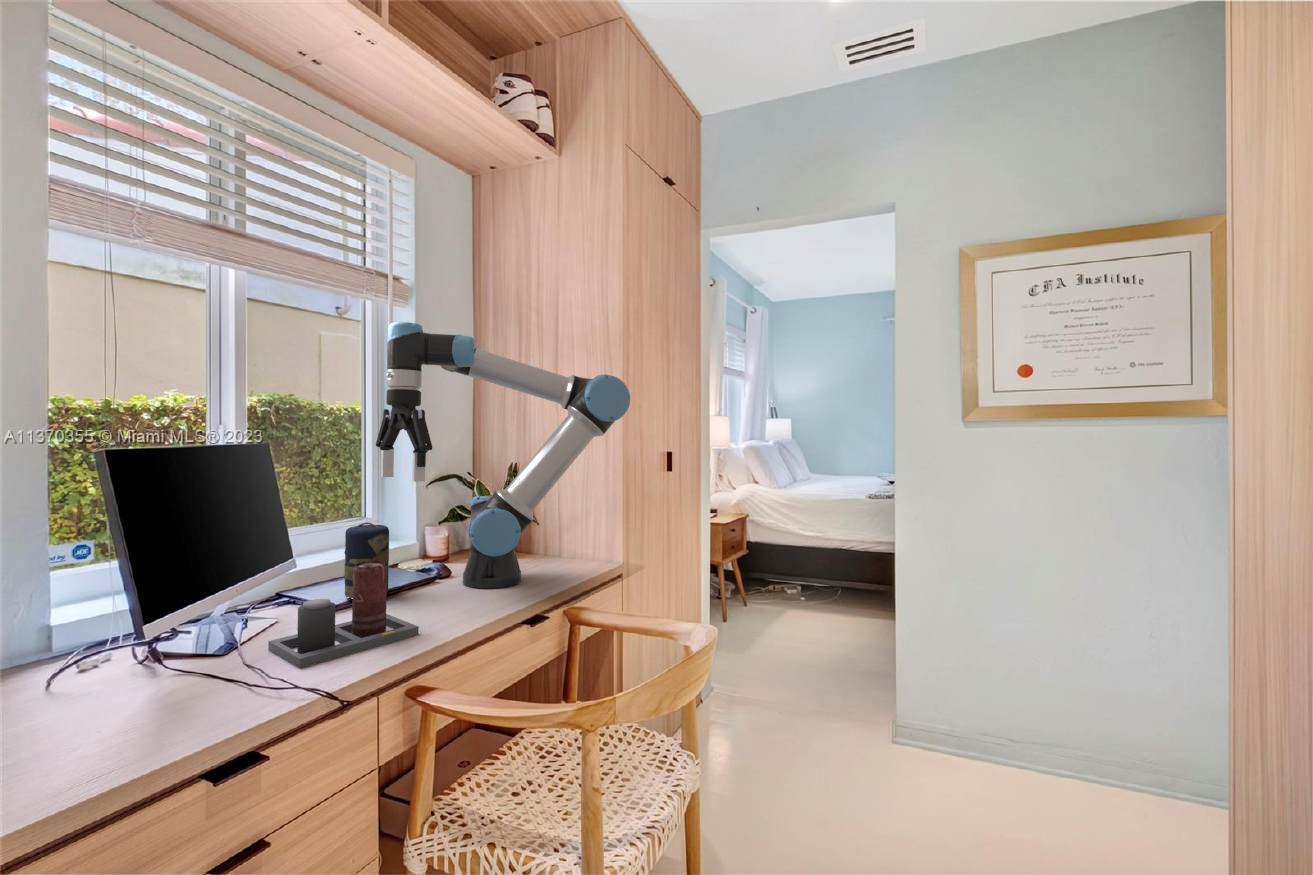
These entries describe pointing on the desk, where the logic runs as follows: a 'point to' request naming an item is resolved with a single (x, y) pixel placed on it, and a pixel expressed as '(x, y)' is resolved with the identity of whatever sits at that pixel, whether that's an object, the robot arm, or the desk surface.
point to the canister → (364, 549)
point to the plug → (316, 625)
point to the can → (369, 598)
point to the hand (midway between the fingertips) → (402, 479)
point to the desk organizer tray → (342, 642)
